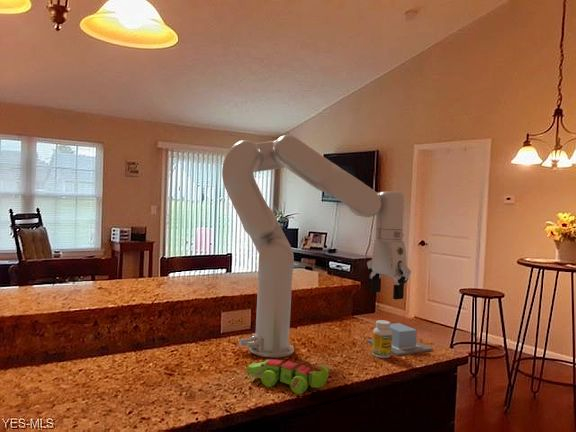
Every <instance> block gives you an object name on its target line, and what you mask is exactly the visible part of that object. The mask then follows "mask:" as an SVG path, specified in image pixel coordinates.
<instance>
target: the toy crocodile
mask: <svg viewBox="0 0 576 432" xmlns="http://www.w3.org/2000/svg"><path fill="white" fill-rule="evenodd" d="M245 370H246V373H248V375H249V376H251V377H257V378H260V379H261V383H262V384H263V385H264V386H266V387H267V388H268V387H269V388H272V387H274V386H275V385H276V383H278V381H279V382H281V383H284V384H287V385H289V387H290V390H291V391H292V392H293V393H294V394H298V395H301V394H304V393H305V392H306V391H307V389H308V387H311V388H320V387H321V388H322V387H323V386H325V385H326V383H327V381H328V377H329V368H328V367H327V366H326V364H324V363H322V364H321V370H319V371H318V370H313V371H312V369H311V368H310V367H308V366H306V365H305V364H301V365H300V366H299V364H298V363H297V362H292V361H290V360H288V361H287V362H284V360H280V359H272V358H270V359H265V360H264V361H262V362H252V363H251V364H250V365H248V366H247V367H246V369H245Z"/></svg>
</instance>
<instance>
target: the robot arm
mask: <svg viewBox="0 0 576 432" xmlns="http://www.w3.org/2000/svg"><path fill="white" fill-rule="evenodd" d="M285 168H286V169H287V170H289V172H290V173H291V172H292V173H293V174H295V175H296V176H297V177H299V178H300V179H302V180H303V181H304V182H306V183H307V184H309V185H310V186H311V187H313V188H315V189H317V190H319V191H321V192H323V193H326V194H327V195H329V196H332V197H333V198H335V199H336V200H338V201H340V202H341V203H343V204H344V205H345V206H347V207H348V208H349V210H350V212H352V213H353V214H354V215H356V216H357V217H363V218H372V217H374V216H375V217H376V218H375V219H376V220H375V237H374V238H375V239H374V242H373V246H372V247H373V249H372V255H371V256H372V257H371V259H370V260H368V261H367V262H366V265H367V268H368V269H367V272H368V273H369V279H370V280H371V281H370V293H380V292H381V289H382V287H381V286H382V278H380V277H381V276H385V277H390V278H392V279H393V281H394V282H393V283H395V284H393V289H392V290H393V296H392V299H393V300H403V299H404V296H405V295H404V293H405V285H406V284H407V281H408V280H409V278H410V275H411V273H412V271H411V269H410V268H409V267H407V252H406V244H405V241H404V240H403V237H404V236H405V235H404V217H405V216H404V214H405V212H404V211H405V195H404V193H403V192H401V191H391V190H389V191H387V190H386V191H379V192H377V191H376V190H374V189H373V188H371V187H370V186H369V185H367V184H365V182H363V181H361V180H360V179H359V178H357V177H355V176H354V175H352V174H350V173H349V172H347V171H346V170H344V169H343V168H341V167H339V165H337V164H336V163H334V162H332V161H331V160H329V159H328V158H327V157H325V156H324V155H322V154H320V153H319V152H318V151H317V150H315V149H314V148H311V147H310V146H309V145H308V144H306V143H305V142H304V141H302V140H300V138H297V137H295V136H294V135H291V134H284V135H281V136H280V137H278V138H277V139H275V140H270V141H262V142H254V141H252V140H248V139H243V140H239V141H238V142H235V143H234V144H233V145H232V147H230V149H229V150H228V152H227V154H226V155H225V157H224V159H223V164H222V169H221V170H222V172H221V173H222V174H221V175H222V182H223V185H224V189H225V191H226V193H227V195H228V197H229V199H230V201H231V203H232V206H233V208H234V209H235V212H236V214H237V216H238V217H239V220H240V223H241V224H242V228H243V230H244V232H245V233H246V234H247V235H249V237H250V239H251V241H252V243H253V245H254V247H255V248H256V250H257V252H258V274H257V275H258V276H257V294H256V295H257V296H256V297H257V298H256V299H257V300H256V315H255V316H256V317H255V318H256V319H255V333H253V332H252V333H251V336H250V337H249V338H239V339H238V345H239V346H240V347H243V346H244V347H245V346H246V347H247V348H248V349H249V352H250V353H252V354H254V355H255V356H259V357H264V358H285V357H288V356H291V355H292V354H293V353H294V352H295V347H294V345H293V344H291V343H290V342H289V341H290V326H291V325H290V324H291V310H292V309H291V306H292V305H291V304H292V287H293V286H292V285H293V276H294V275H293V274H294V272H293V271H294V264H295V263H294V262H295V261H294V259H295V257H294V251H293V247H292V246H291V244H290V242H289V240H288V238H287V236H286V235H285V233H284V231H283V229H282V227H281V224H280V222H279V221H278V218H277V216H276V215H275V212H274V211H273V210H272V209H271V208H270V207H269V205H268V203H267V202H266V200H265V198H264V196H263V193H262V192H261V190H260V188H259V186H258V184H257V181H256V180H255V175H254V173H258V172H264V171H265V172H267V171H273V170H278V169H285Z"/></svg>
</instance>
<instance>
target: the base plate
mask: <svg viewBox="0 0 576 432" xmlns="http://www.w3.org/2000/svg"><path fill="white" fill-rule="evenodd" d="M366 343H369V344H371V345H373V338H368V339H366ZM433 350H434V348H433V347H430V346H428V345H426V344H423V343H420V342H418V341H416V347H407V348H396V347H394V346H391V354H392V353H393V354H392V355H394V354H395V356H397V357H398V356H403V355H410V354H411V355H412V354H417V353H424V352H430V351H433Z"/></svg>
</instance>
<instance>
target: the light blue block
mask: <svg viewBox="0 0 576 432" xmlns="http://www.w3.org/2000/svg"><path fill="white" fill-rule="evenodd" d="M389 329H390V330H391V331H392V346H394V347H396V348H407V347H416V342H417V334H418V333H417V332H418V330H417V329H415V328H413V327H410V326H407V325H405V324H402V323H400V322H398V323H390V328H389Z"/></svg>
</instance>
